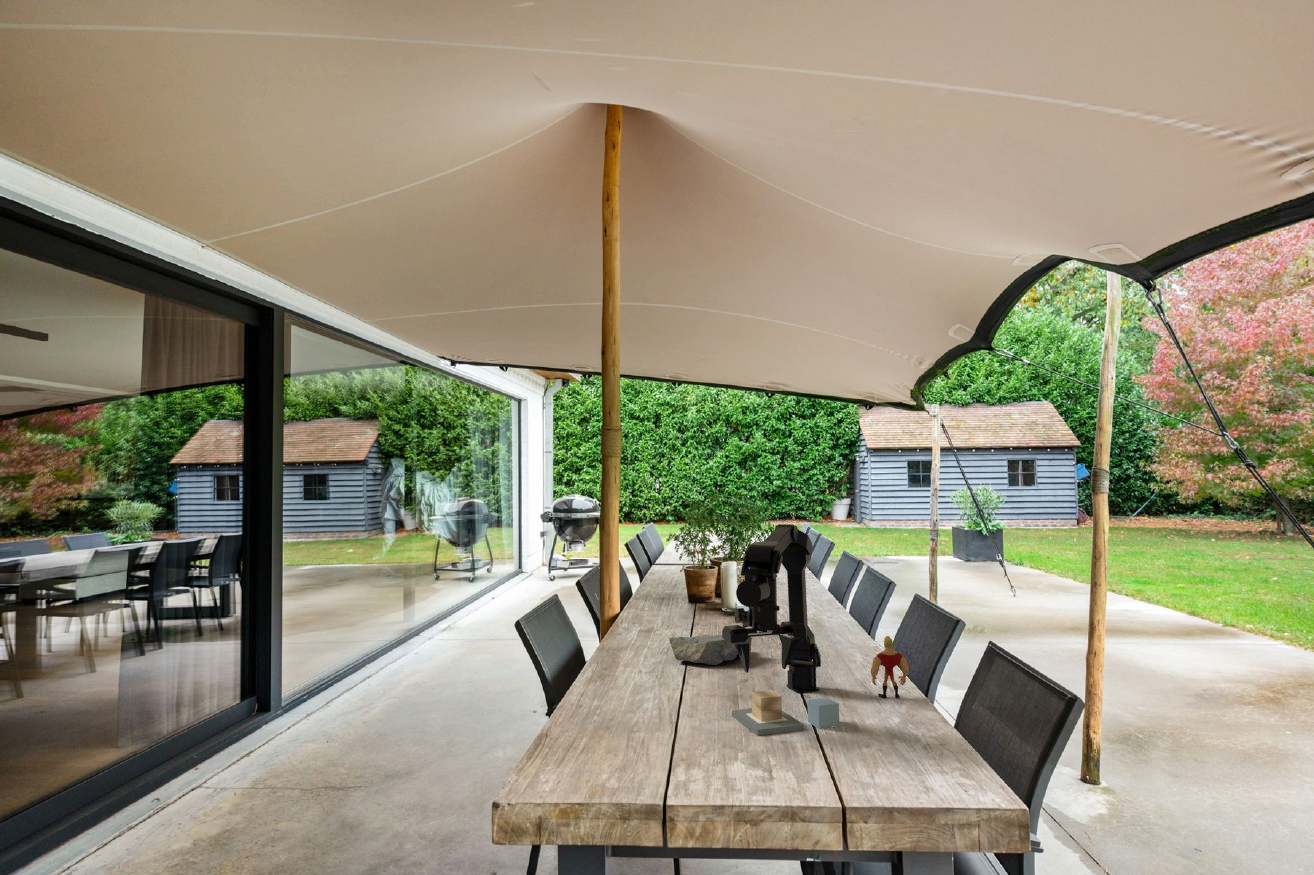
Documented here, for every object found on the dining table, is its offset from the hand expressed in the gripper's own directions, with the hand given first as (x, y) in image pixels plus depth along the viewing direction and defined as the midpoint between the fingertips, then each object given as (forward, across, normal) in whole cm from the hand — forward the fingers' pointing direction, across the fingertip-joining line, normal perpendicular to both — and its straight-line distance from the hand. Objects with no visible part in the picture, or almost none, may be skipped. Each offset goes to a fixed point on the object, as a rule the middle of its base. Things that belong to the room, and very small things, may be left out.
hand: (765, 670), depth 166 cm
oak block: (+10, 0, 0) cm, 10 cm away
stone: (+12, -11, -60) cm, 63 cm away
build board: (+12, 0, 0) cm, 12 cm away
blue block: (+12, -12, +5) cm, 17 cm away
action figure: (+12, -37, -8) cm, 40 cm away
